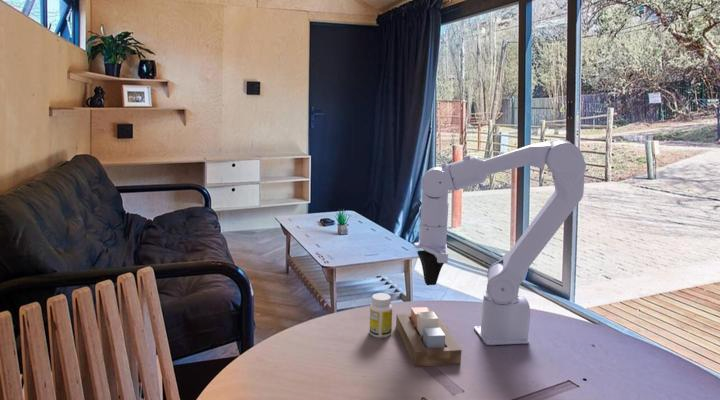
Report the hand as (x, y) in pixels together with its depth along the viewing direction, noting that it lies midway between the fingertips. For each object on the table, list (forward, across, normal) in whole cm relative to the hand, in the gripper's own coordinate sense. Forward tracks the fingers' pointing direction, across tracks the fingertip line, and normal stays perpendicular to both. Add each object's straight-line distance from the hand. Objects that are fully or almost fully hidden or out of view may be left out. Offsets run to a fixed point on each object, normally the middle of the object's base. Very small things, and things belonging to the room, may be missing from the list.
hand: (430, 284), depth 114 cm
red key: (+9, +3, -3) cm, 9 cm away
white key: (+7, +8, -3) cm, 11 cm away
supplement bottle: (+10, +2, -11) cm, 15 cm away
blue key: (+9, +13, -3) cm, 16 cm away
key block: (+10, +8, -3) cm, 13 cm away
